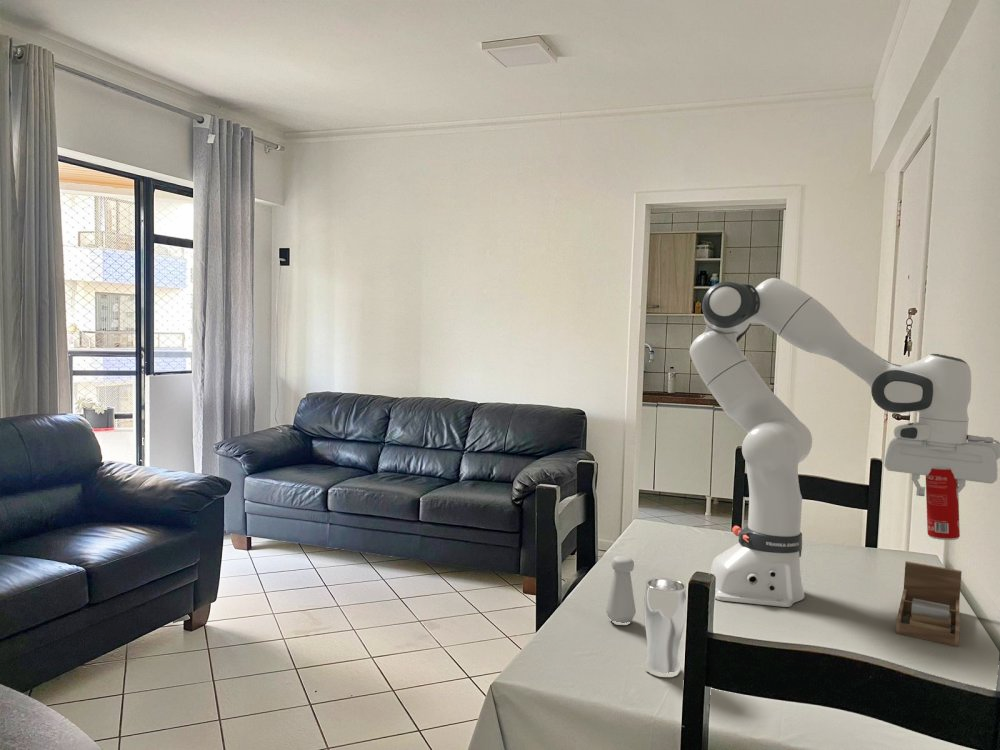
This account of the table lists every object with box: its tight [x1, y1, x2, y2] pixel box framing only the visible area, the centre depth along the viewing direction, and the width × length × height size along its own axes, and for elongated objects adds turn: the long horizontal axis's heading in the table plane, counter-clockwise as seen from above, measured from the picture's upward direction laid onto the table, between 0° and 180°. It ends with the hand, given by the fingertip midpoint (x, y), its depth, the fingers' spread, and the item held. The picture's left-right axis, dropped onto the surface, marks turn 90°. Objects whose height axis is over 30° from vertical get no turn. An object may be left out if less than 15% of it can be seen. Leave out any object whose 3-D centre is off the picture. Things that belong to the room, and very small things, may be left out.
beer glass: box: [643, 577, 687, 673], centre depth 123 cm, size 7×7×15 cm
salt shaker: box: [605, 555, 637, 623], centre depth 143 cm, size 6×6×13 cm
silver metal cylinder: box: [909, 598, 952, 633], centre depth 145 cm, size 5×7×5 cm
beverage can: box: [925, 468, 961, 541], centre depth 151 cm, size 6×6×15 cm
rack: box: [895, 560, 962, 647], centre depth 148 cm, size 21×10×9 cm, turn 147°
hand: (936, 497), depth 152 cm, fingers closed on beverage can, 4 cm apart
